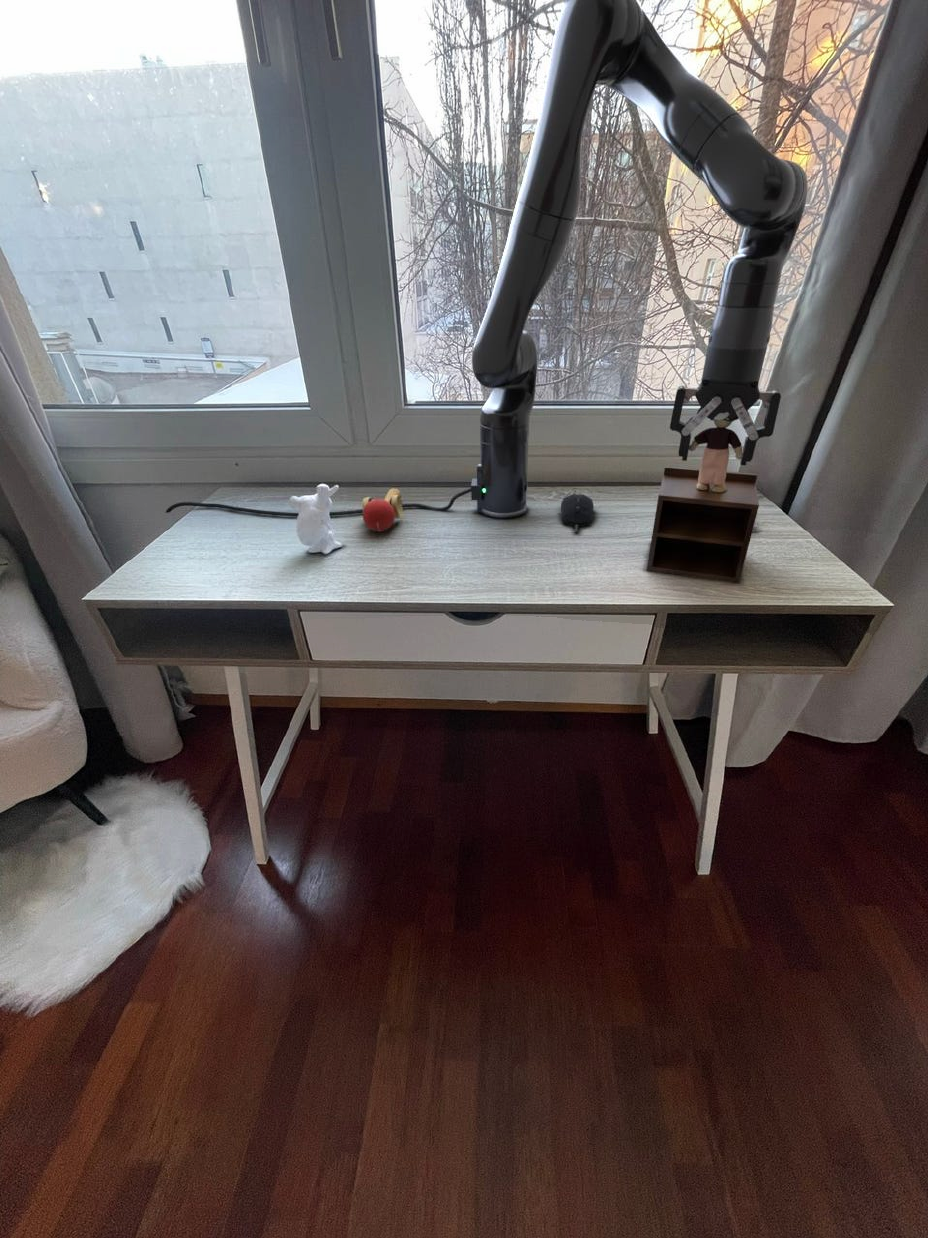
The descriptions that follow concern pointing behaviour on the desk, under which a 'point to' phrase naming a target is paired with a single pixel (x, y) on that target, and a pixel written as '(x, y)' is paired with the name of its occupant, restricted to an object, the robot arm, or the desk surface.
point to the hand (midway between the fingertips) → (713, 461)
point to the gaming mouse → (577, 510)
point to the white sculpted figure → (316, 520)
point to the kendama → (382, 510)
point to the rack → (703, 525)
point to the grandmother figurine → (716, 453)
